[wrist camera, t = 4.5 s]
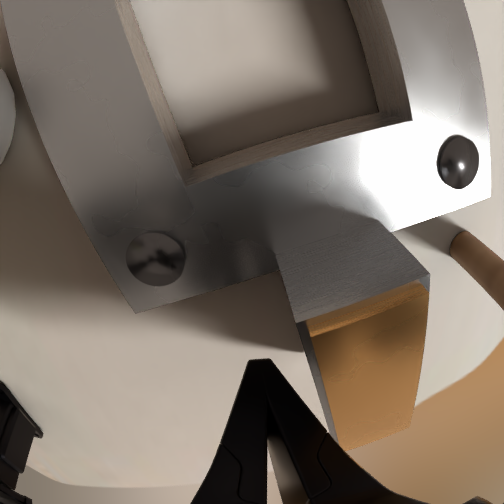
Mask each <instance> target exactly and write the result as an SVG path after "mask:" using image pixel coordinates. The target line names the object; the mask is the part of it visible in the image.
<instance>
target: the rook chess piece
mask: <svg viewBox="0 0 504 504" xmlns="http://www.w3.org/2000/svg"><path fill="white" fill-rule="evenodd" d="M15 120H16V107H15V95H14V92H13V90H12V87H11V85H10V83H9V80H8V78H7V76H6V73H5V72H4V71H3V70H2V69H1V68H0V164H1V163H2V162H3V160H4V158H5V155H6V153H7V151H8V149H9V146H10V144H11V142H12V138H13V132H14V125H15Z"/></svg>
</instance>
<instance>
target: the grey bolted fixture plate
mask: <svg viewBox="0 0 504 504" xmlns="http://www.w3.org/2000/svg"><path fill="white" fill-rule="evenodd" d="M0 2H1V7H2V12H3V17H4V22H5V27H6V31H7V35H8V39H9V43H10V47H11V51H12V54H13V58H14V62H15V65H16V68H17V72H18V75H19V78H20V81H21V84H22V88H23V91H24V94H25V96H26V99H27V102H28V105H29V108H30V111H31V113H32V116H33V119H34V121H35V124H36V126H37V129H38V132H39V134H40V137H41V139H42V141H43V144H44V146H45V149H46V151H47V153H48V156H49V158H50V160H51V163H52V165H53V167H54V169H55V171H56V174H57V176H58V178H59V180H60V182H61V184H62V186H63V189H64V191H65V193H66V195H67V197H68V199H69V201H70V203H71V205H72V207H73V209H74V211H75V213H76V215H77V216H78V218H79V220H80V222H81V224H82V226H83V228H84V230H85V231H86V233H87V235H88V237H89V239H90V241H91V242H92V244H93V246H94V248H95V249H96V251H97V253H98V255H99V256H100V258H101V260H102V262H103V263H104V265H105V267H106V268H107V270H108V272H109V273H110V275H111V277H112V278H113V280H114V281H115V283H116V285H117V286H118V288H119V289H120V291H121V293H122V294H123V296H124V297H125V299H126V300H127V302H128V303H129V305H130V306H131V308H132V309H133V311H134V312H135V314H136V313H139V312H143V311H146V310H150V309H153V308H156V307H160V306H163V305H167V304H170V303H173V302H177V301H180V300H183V299H187V298H190V297H193V296H197V295H200V294H203V293H206V292H210V291H213V290H216V289H219V288H223V287H226V286H229V285H232V284H236V283H239V282H242V281H245V280H248V279H251V278H255V277H258V276H261V275H264V274H267V273H270V272H273V271H277V270H280V272H281V275H282V279H283V282H284V285H285V289H286V292H287V295H288V299H289V302H290V305H291V309H292V312H293V315H294V319H295V322H296V325H297V329H298V332H299V335H300V338H301V341H302V344H303V348H304V351H305V354H306V357H307V360H308V363H309V367H310V370H311V373H312V376H313V379H314V383H315V386H316V389H317V392H318V396H319V399H320V402H321V406H322V409H323V412H324V415H325V419H326V422H327V425H328V429H329V432H330V435H331V436H332V437H333V438H334V440H335V441H336V442H337V443H338V444H339V445H340V446H341V448H342V449H343V450H344V451H348V450H351V449H354V448H357V447H360V446H363V445H365V444H368V443H371V442H373V441H376V440H379V439H382V438H384V437H387V436H389V435H392V434H394V433H396V432H399V431H401V430H404V429H406V428H408V427H409V426H410V422H411V418H412V414H413V410H414V405H415V400H416V395H417V390H418V384H419V378H420V372H421V366H422V359H423V352H424V345H425V336H426V327H427V316H428V304H429V288H430V273H429V272H428V271H427V270H426V269H425V268H424V267H423V266H422V265H421V264H420V262H419V261H418V260H417V259H416V258H415V257H414V256H413V255H412V254H411V253H410V252H409V251H408V250H407V249H406V248H405V247H404V246H403V245H402V243H401V242H400V241H399V240H398V239H397V238H396V237H395V236H394V235H393V234H392V233H391V232H393V231H396V230H399V229H402V228H405V227H408V226H411V225H414V224H416V223H419V222H422V221H425V220H428V219H430V218H433V217H436V216H439V215H442V214H444V213H447V212H450V211H453V210H455V209H458V208H461V207H464V206H466V205H469V204H472V203H474V202H477V201H480V200H483V199H485V198H488V197H491V158H490V137H489V125H488V114H487V105H486V98H485V91H484V84H483V78H482V72H481V67H480V62H479V57H478V52H477V48H476V44H475V40H474V36H473V32H472V28H471V24H470V21H469V17H468V14H467V11H466V7H465V4H464V1H463V0H347V2H348V5H349V8H350V11H351V14H352V16H353V19H354V22H355V25H356V28H357V31H358V35H359V38H360V41H361V44H362V47H363V51H364V54H365V58H366V61H367V65H368V69H369V72H370V76H371V80H372V84H373V88H374V92H375V96H376V101H377V105H378V110H379V112H378V113H373V114H369V115H364V116H360V117H355V118H351V119H347V120H343V121H339V122H335V123H331V124H327V125H323V126H320V127H316V128H312V129H308V130H305V131H301V132H298V133H294V134H291V135H287V136H284V137H281V138H277V139H274V140H271V141H267V142H264V143H261V144H258V145H255V146H252V147H249V148H246V149H243V150H239V151H237V152H234V153H231V154H228V155H225V156H222V157H219V158H216V159H213V160H211V161H208V162H205V163H202V164H200V165H197V166H194V167H192V165H191V162H190V160H189V157H188V155H187V152H186V149H185V147H184V144H183V142H182V139H181V137H180V134H179V132H178V129H177V126H176V124H175V121H174V119H173V116H172V114H171V111H170V108H169V106H168V103H167V101H166V98H165V95H164V93H163V90H162V87H161V85H160V82H159V79H158V77H157V74H156V71H155V69H154V66H153V63H152V61H151V58H150V55H149V53H148V50H147V47H146V45H145V42H144V39H143V36H142V34H141V31H140V28H139V25H138V23H137V20H136V17H135V14H134V11H133V9H132V6H131V3H130V0H0Z"/></svg>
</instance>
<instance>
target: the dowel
mask: <svg viewBox="0 0 504 504" xmlns="http://www.w3.org/2000/svg"><path fill="white" fill-rule="evenodd" d="M450 255H451V257H452V258H453V259H454V260H455V261H457V262H458V263H459V264H460V265H461V266H462V267H463V268H464V269H465V270H466V271H467V272H468V273H469V274H470V275H471V276H472V277H473V278H474V279H475V280H476V281H477V282H478V283H479V284H480V285H481V286H482V287H483V288H484V289H485V291H486V292H487V293H488V294H489V295H490V296H491V297H492V298H493V299H494V300H495V301H496V302H497V303H498V304H499V306H500V307H501V308H502V309H503V310H504V261H503V260H502V259H501V258H500V257H499V256H498V255H496V254H495V253H494V252H493V251H492V250H490V249H489V248H488V247H487V246H486V245H484V244H483V243H482V242H481V241H480V240H478V239H477V238H476V237H475V236H473V235H472V234H471V233H470V232H468V231H463V232H461V233H459V234H458V235H457V236H456V237H455V238H454V240H453V241H452V243H451V246H450Z"/></svg>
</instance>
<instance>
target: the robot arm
mask: <svg viewBox="0 0 504 504" xmlns="http://www.w3.org/2000/svg"><path fill="white" fill-rule="evenodd" d="M34 437H37V438H42V437H43V432H42V431H41V430H40V429H39V427H38V426H37V425H36V424H35V423H34V422H33V420H32V419H31V418H30V417H29V416H28V415H27V413H26V412H25V411H24V410H23V408H22V407H21V406H20V405H19V403H18V402H17V401H16V400H15V398H14V397H13V396H12V394H11V393H10V392H9V390H8V389H7V388H6V387H5V386H4V385H3V384H1V383H0V504H32V499H30V498H28V497H26V496H23V495H20V494H19V493H17V492H15V491H13V490H15V488H16V484H17V479H18V475H19V473H23V472H24V469H25V465H26V462H27V458H28V454H29V451H30V447H31V444H32V441H33V438H34ZM267 446H268V450H269V454H270V457H271V461H272V465H273V469H274V472H275V476H276V480H277V483H278V488H279V491H280V495H281V499H282V502H283V504H428V503H425V502H422V501H418V500H416V499H412V498H409V497H406V496H403V495H400V494H397V493H395V492H393V491H391V490H389V489H388V488H386V487H385V486H383V485H382V484H381V483H379V482H378V481H377V480H376V479H375V478H374V477H372V476H371V475H370V474H369V473H368V472H367V471H365V470H364V469H363V468H362V467H361V466H360V465H359V464H358V463H357V462H355V461H354V460H353V459H352V458H351V457H350V456H349V455H348V454H347V453H346V452H345V451H344V450H343V449H342V448H341V446H340V445H339V444H338V443H337V442H336V441H335V440H334V438H333V437H332V436H331V435H330V434H329V433H327V430H326V429H325V428H324V426H323V425H322V424H321V423H320V421H319V420H318V419H317V418H316V417H315V415H314V414H313V413H312V412H311V410H310V409H309V408H308V406H307V405H306V404H305V403H304V401H303V400H302V399H301V398H300V396H299V395H298V394H297V393H296V391H295V390H294V389H293V387H292V386H291V385H290V384H289V382H288V381H287V380H286V378H285V377H284V376H283V374H282V373H281V372H280V371H279V369H278V368H277V367H276V365H275V364H274V363H273V361H272V360H271V359H269V358H267V359H253V360H249V361H248V363H247V366H246V369H245V372H244V375H243V378H242V381H241V384H240V387H239V389H238V392H237V395H236V398H235V401H234V404H233V407H232V410H231V413H230V416H229V419H228V422H227V424H226V427H225V430H224V433H223V436H222V439H221V442H220V444H219V447H218V450H217V452H216V455H215V457H214V460H213V462H212V465H211V467H210V469H209V471H208V473H207V475H206V477H205V479H204V481H203V483H202V484H201V486H200V488H199V490H198V491H197V493H196V495H195V497H194V498H193V500H192V502H191V504H267ZM463 504H492V503H491V502H489V501H487V500H485V499H483V498H480V497H478V496H476V497H475V498H472V499H470V500H469V501H467V502H465V503H463ZM503 504H504V503H503Z"/></svg>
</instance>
